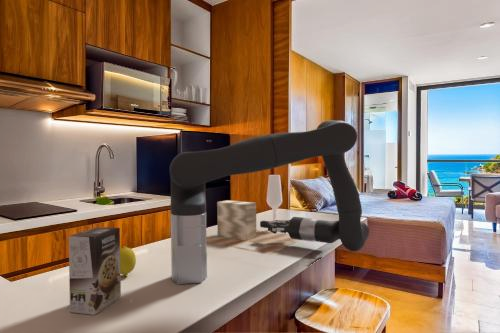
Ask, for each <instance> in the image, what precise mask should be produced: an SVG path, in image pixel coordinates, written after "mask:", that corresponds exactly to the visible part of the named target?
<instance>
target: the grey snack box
mask: <svg viewBox="0 0 500 333" xmlns="http://www.w3.org/2000/svg"><path fill="white" fill-rule="evenodd" d="M120 229H121V228H120V227H109V226H108V227H106V226H105V227H104V226H103V227H93V228H90V229H87V230H84V231H80V232H78V233H73V234H70V235H68V257H69V258H68V263H69V264H68V265H69V266H68V267H69V269H68V270H69V271H68V272H69V273H68V274H69V275H68V276H69V278H68V279H69V284H68V285H69V312H70V313H76V314H85V315H91V316H94V315H97V314H99V313H100V312H101V311H103V310H104V309H106V308H107V307H108V306H110V305H112V304H113V303H115V301H118V300H119V299H120V298H121V297H122V291H121V289H122V288H121V284H122V283H121V279H122V278H121V274H120V249H121V238H120V235H121V234H120V233H121V232H120V231H121V230H120Z"/></svg>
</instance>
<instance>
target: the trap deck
mask: <svg viewBox="0 0 500 333" xmlns="http://www.w3.org/2000/svg"><path fill="white" fill-rule="evenodd" d="M256 232H259V233H256V237H255V238H253V239H250V240H242V239H236V238H230V237H224V236H218V232H216V233H214V234H212V235H209V236H206V241H207V244H212V245H218V246H223V247H229V248H235V249H239V250H244V251H249V252H257V253H259V254H267V255H273V254H275V253H277V252H279V251H281V250H283V249H285V248H288V247H289V246H291V245H294V244H296V243H298V242H299V241H300V240H297V239H292V238H290V236H289V234H288V233H285V234H284V233H281V232H277V233H276V234H274V233H272V232H270V231H266V230H258V229H256ZM245 243H254V244H260V245H263V246H260V247H258V248H256V249H250V248H244V247H239V246H240V245H242V244H245Z"/></svg>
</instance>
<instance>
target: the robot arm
mask: <svg viewBox="0 0 500 333" xmlns="http://www.w3.org/2000/svg"><path fill="white" fill-rule="evenodd" d="M357 140H358V132H357V130H356V128H355V127H354V126H353V125H352V124H351V123H349V122H346V121H344V120H335V119H333V120H332V119H330V120H325V121H322V122H321V123H320V124H318V125H317V127H316V128H315V129H312V130H307V131H293V132H291V131H290V132H279V133H270V134H265V135H260V136H255V137H251V138H248V139H247V138H246V139H244V140H240V141H239V142H235V143H233V144H230V145H228V146H224V147H221V148H220V147H219V148H215V149H208V150H200V151H185V152H181V153H179V154H177V155H176V156H174V157H173V159H172V161H171V162H170V165H169V175H170V247H171V249H170V256H171V257H170V258H171V259H170V260H171V262H170V263H171V264H170V265H171V280H172V282H175V283H176V285H185V284H196V283H203V281H204V280H205V279H206V278H207V277H208V261H207V260H208V258H207V256H208V254H207V246H208V245H207V244H208V243H207V241H206V237H207V197H206V195H207V194H206V183H208V182H212V181H214V180H218V179H222V178H223V177H228V176H234V175H237V176H238V175H244V174H251V173H257V172H263V171H267V170H272V169H276V168H279V167H282V166H286V165H287V166H288V165H291V164H294V163H295V164H296V163H297V162H301V161H304V160H308V159H311V158H318V157H322V160H323V164H324V166H325V168H326V172H327V174H328V177H329V180H330V181H329V182H330V183H331V184H330V185H331V187H332V188H331V189H332V192H333V196H334V200H335V205H336V206H335V207H336V209H337V213H338V214H337V215H338V220H323V219H316V218H311V217H302V216H301V217H300V216H292V217H291V218H290V219H284V220H283V219H279V220H278V219H276V220H275V221H273V220H271V221H270V220H261V221H260V222H259V227H260V228H262V229H264V228H265V229H267V230H268V232H272V233H274V234H276V233H281V234H288V235H289V236H290V238H292V239H297V240H299V241H306V242H318V243H325V244H333V243H335V242H336V241H338V240H339V241H340V243H341V244H342V246H343V248H345V249H346V250H348V251H350V252H359V251H361V250H362V248H363V247H364V246H365V244H366V242H367V239H369V235H370V228H369V226H368V225H367V224H366V223H365V222H363V221H361V218H362V214H363V209H362V203H361V198H360V194H359V191H358V188H357V185H356V183H355V181H354V178H353V177H352V175H351V173H350V170H349V167H348V166H347V163H346V161H345V156H344V154H345V153H347V152H349V151H350V150H351V149H352V148H354V147H355V145H356V143H357Z"/></svg>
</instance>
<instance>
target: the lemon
mask: <svg viewBox="0 0 500 333" xmlns="http://www.w3.org/2000/svg"><path fill="white" fill-rule="evenodd" d="M136 264H137V259H136V254H135V251H134V250H133V249H131V247H127V246H125V245H124V246H122V248H121V247H120V275H123V276H124V277H126V276H128V275H129V273H131V272H132V271H133V270H134V269H135V267H136Z"/></svg>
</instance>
